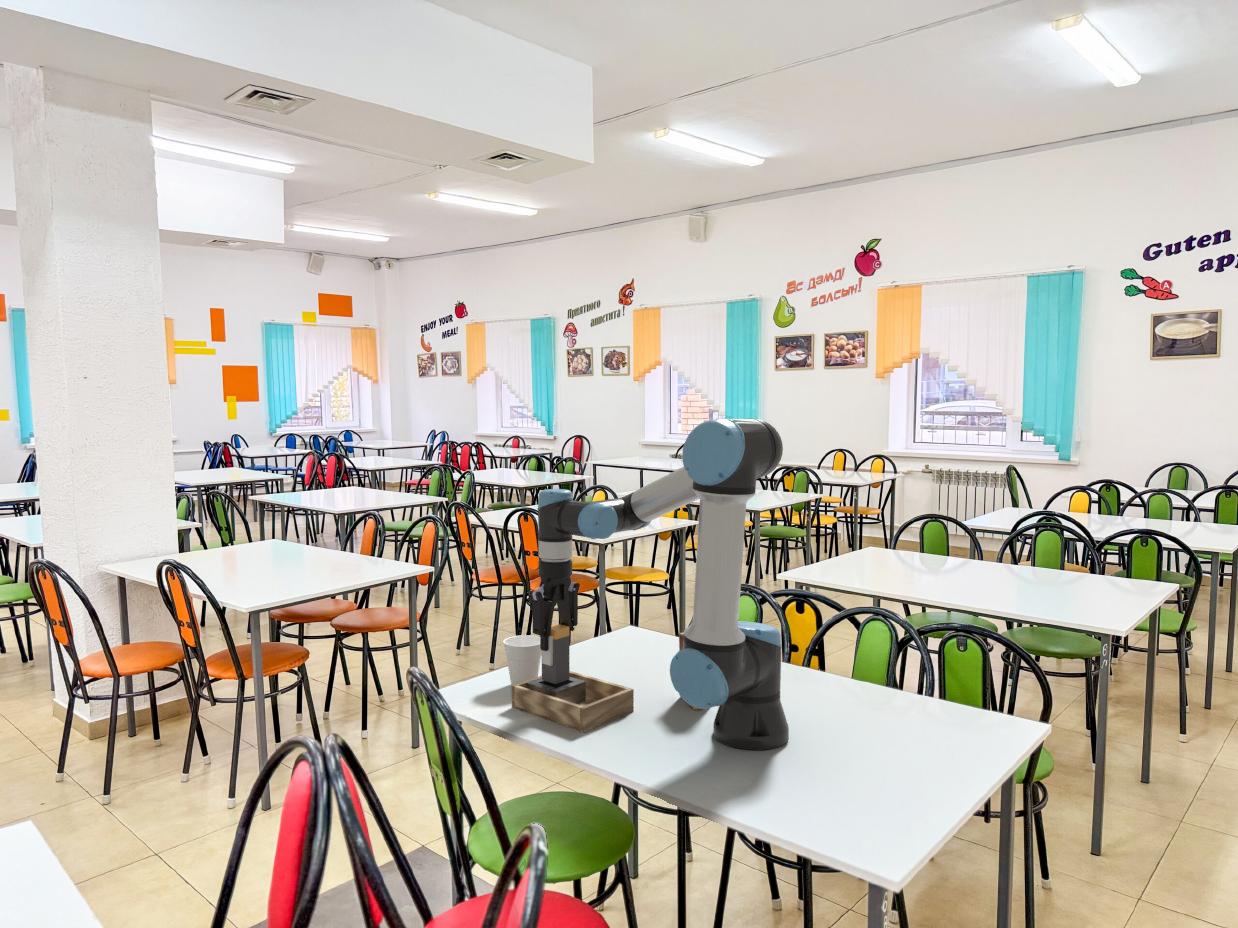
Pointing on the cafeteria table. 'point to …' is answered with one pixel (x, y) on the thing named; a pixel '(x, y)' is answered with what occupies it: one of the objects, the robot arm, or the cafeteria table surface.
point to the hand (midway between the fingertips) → (555, 661)
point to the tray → (597, 709)
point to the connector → (558, 656)
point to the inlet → (561, 689)
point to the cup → (522, 657)
